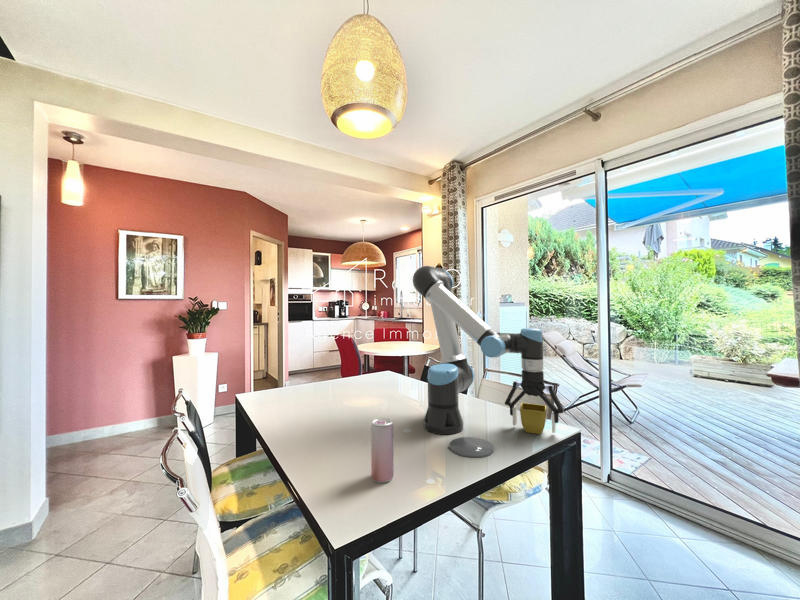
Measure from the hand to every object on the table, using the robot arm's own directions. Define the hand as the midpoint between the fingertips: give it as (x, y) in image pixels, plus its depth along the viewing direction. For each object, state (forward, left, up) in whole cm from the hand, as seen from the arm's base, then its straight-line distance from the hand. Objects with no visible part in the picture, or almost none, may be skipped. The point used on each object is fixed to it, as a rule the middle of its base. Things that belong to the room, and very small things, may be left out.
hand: (533, 428), depth 119 cm
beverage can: (-27, -57, -2) cm, 63 cm away
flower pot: (0, 0, -2) cm, 2 cm away
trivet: (-14, -26, -1) cm, 30 cm away
